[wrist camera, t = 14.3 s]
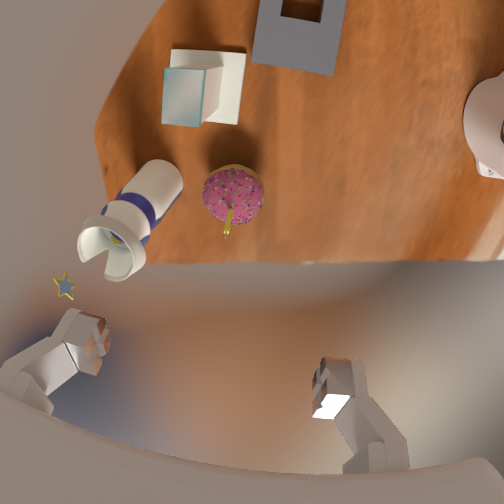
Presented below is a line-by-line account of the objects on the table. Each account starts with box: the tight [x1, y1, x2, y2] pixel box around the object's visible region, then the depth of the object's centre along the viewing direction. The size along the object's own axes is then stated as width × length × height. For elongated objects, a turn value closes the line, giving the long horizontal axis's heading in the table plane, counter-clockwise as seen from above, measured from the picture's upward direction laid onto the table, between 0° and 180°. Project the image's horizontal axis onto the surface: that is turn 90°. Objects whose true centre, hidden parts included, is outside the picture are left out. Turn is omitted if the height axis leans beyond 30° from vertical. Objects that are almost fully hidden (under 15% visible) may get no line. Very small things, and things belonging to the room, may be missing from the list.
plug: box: [161, 64, 224, 127], centre depth 34 cm, size 4×6×11 cm
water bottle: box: [53, 159, 183, 300], centre depth 38 cm, size 8×8×25 cm
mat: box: [170, 49, 247, 125], centre depth 39 cm, size 10×10×1 cm
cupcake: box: [202, 164, 265, 238], centre depth 42 cm, size 9×8×12 cm
